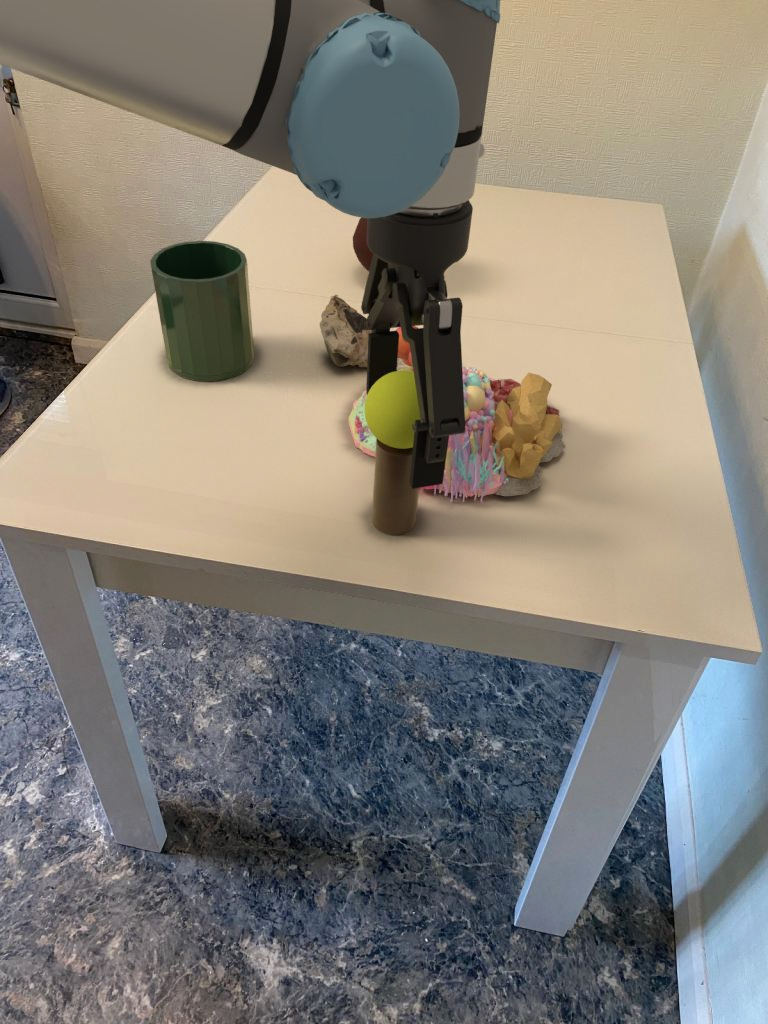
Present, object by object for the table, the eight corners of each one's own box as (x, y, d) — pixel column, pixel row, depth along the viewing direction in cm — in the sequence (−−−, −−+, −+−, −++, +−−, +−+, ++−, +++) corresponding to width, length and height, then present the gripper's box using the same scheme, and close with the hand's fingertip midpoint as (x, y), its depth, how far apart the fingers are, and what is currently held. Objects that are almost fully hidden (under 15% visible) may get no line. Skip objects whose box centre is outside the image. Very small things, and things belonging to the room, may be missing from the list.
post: (378, 538, 72) (384, 458, 65) (366, 508, 75) (370, 429, 68) (421, 531, 73) (431, 451, 66) (407, 502, 76) (415, 423, 69)
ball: (374, 469, 64) (378, 404, 59) (354, 423, 68) (356, 360, 64) (448, 458, 65) (457, 394, 61) (423, 414, 70) (430, 351, 65)
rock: (351, 317, 100) (307, 293, 92) (397, 308, 97) (355, 282, 88) (349, 380, 100) (305, 362, 91) (396, 374, 96) (353, 354, 87)
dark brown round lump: (352, 296, 108) (354, 226, 101) (350, 257, 118) (352, 191, 111) (427, 298, 109) (434, 228, 102) (419, 259, 118) (425, 193, 111)
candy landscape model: (569, 398, 91) (587, 331, 85) (555, 524, 74) (576, 453, 68) (375, 363, 95) (378, 297, 89) (319, 476, 78) (318, 404, 72)
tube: (171, 386, 89) (153, 285, 80) (164, 341, 96) (147, 244, 87) (260, 376, 91) (253, 277, 83) (246, 332, 99) (239, 237, 90)
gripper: (545, 269, 44) (493, 521, 59) (415, 138, 62) (400, 359, 76) (428, 279, 43) (404, 537, 57) (328, 142, 60) (329, 367, 74)
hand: (401, 436), depth 67 cm, fingers open, 13 cm apart
